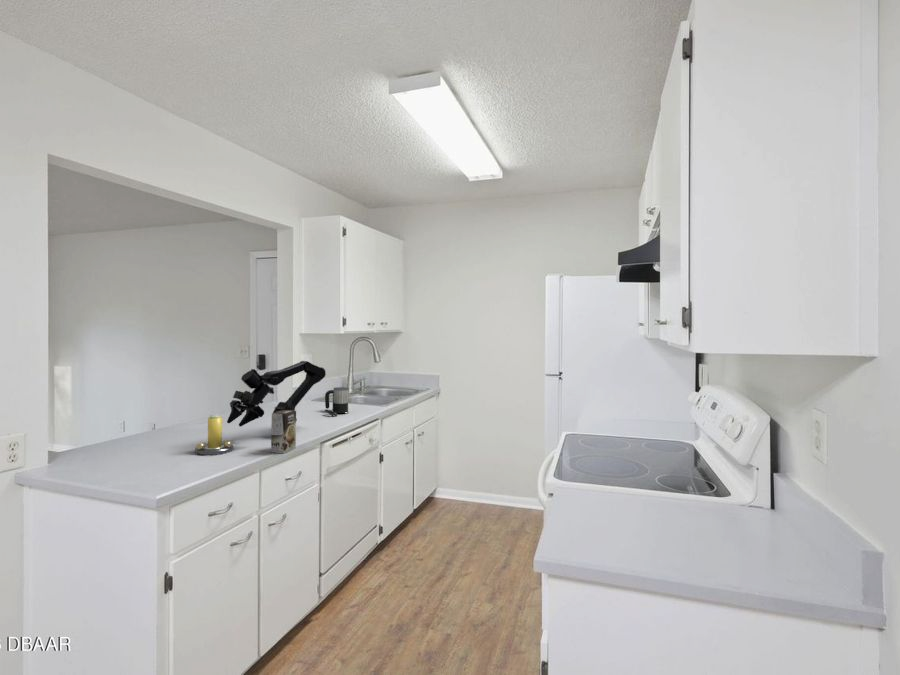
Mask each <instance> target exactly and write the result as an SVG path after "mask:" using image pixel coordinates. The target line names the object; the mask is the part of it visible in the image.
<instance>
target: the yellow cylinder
mask: <svg viewBox="0 0 900 675" xmlns="http://www.w3.org/2000/svg"><path fill="white" fill-rule="evenodd" d="M222 443H223V417H222V416H221V415H220V414H212V415H210V416H209V417H207V444H208V448H211V449H214V448H220V447H222Z"/></svg>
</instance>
